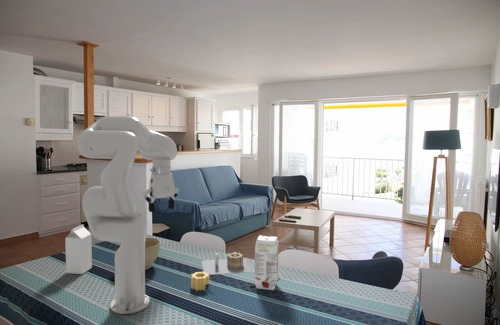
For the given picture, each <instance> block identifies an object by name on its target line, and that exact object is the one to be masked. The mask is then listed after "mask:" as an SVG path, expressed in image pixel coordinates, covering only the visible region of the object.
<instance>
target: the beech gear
mask: <svg viewBox="0 0 500 325" xmlns="http://www.w3.org/2000/svg"><path fill="white" fill-rule="evenodd" d="M236 253H237V257H234V252H231V253H227V256H226V259H227V266H229V267H230V268H239V267H242V265H243V258H244V254H242V253H241V252H236Z"/></svg>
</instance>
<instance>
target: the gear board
mask: <svg viewBox="0 0 500 325" xmlns="http://www.w3.org/2000/svg"><path fill="white" fill-rule="evenodd" d="M233 253H234V257H237V253H238V252H233ZM214 255H215V256H214V259H207V260H201V266H202V272H205V273H209V276H212V275H213V276H214V275H224V274H225V275H226V274H240V273H251V272H253V270H252V267H251V266H250V265H249V262H248V260H247V259H246V257H243V265H242V267H239V268H230V267H229V266H227V258H224V259H223V258H222V259H220V257H219V255H220V254H219V253H217V252H216V253H215V254H214Z"/></svg>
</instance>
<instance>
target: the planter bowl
mask: <svg viewBox="0 0 500 325" xmlns="http://www.w3.org/2000/svg"><path fill="white" fill-rule="evenodd" d="M121 245H122V243H121V244H120V246H121ZM160 247H161V240H159V238H155V237H147V236H146V239H145V271H146V270H148V269H151V268H152V267H153V265H154V264H153V263H155V261H156V260H157V257H158V256H159V253H160Z"/></svg>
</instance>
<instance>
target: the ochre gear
mask: <svg viewBox="0 0 500 325" xmlns="http://www.w3.org/2000/svg"><path fill="white" fill-rule="evenodd" d="M190 276H191V278H190V286H191V290H195V291H196V292H198V291H205V290H206V289H208V287H207V286H206V285H209V284H210V275H209V273H205V272H203V271H195V272H194V273H191V275H190Z"/></svg>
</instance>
